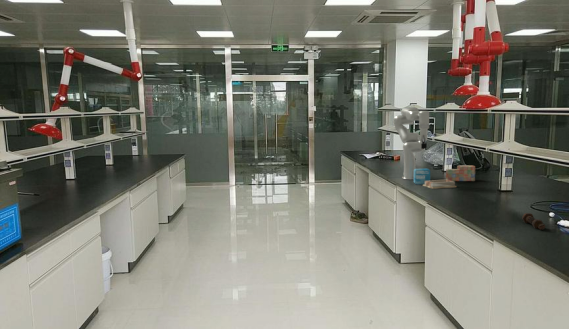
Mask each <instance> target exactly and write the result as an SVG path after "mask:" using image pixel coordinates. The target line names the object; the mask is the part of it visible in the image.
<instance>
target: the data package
mask: <svg viewBox="0 0 570 329" xmlns="http://www.w3.org/2000/svg"><path fill="white" fill-rule="evenodd" d="M430 180H431V170H430V169H429V168H415V169H414V179H413V183H414V184H415V185H423V184H424V183H425V181H430Z"/></svg>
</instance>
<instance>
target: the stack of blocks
mask: <svg viewBox="0 0 570 329" xmlns="http://www.w3.org/2000/svg"><path fill="white" fill-rule="evenodd" d="M445 170H446V172H445V179H447V180H451V181H454V182H475V181H476V166H475V165H470V164H469V165H467V164H466V165H462V164H461V165H460V164H459V165H457V167H456V168H446V169H445Z"/></svg>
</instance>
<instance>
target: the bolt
mask: <svg viewBox="0 0 570 329" xmlns="http://www.w3.org/2000/svg"><path fill="white" fill-rule="evenodd" d="M521 219H522V221H523V223H525V224H531V225H532V227H533V228H534V229H539V230H542V231H543V230H544V229H545V228H546V225H545V224H544V223H543V221H542V219H538V218H537V219H536V218H535V217H534V215H533V214H532V212H526V213H524V214H523V215H522V217H521Z"/></svg>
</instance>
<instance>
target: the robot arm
mask: <svg viewBox="0 0 570 329" xmlns="http://www.w3.org/2000/svg"><path fill="white" fill-rule="evenodd" d="M400 114H401V115H400ZM400 114H399V115H396V116H394V117H393V121H392V123H393V126H394V129H395V130H396V132H397V133H398V135H399V138H400V140H401V143H402V144H403V145H402V150H403V176H401V178H402V179H403V180H414V169H416V156H415V154H420V153H422V152H424V151H425V149H426V148H427V147H428V146H427V145H428V144H427V140H428V129H430V111H429V110H419V109H418V107H415V106H411V107H403V108H402V109H401V111H400ZM415 121H418V129H419V131H420V132H419V133H417V132H410V131H409V129H408V127H407V125H413V124H414V122H415ZM405 125H406V126H405Z"/></svg>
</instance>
